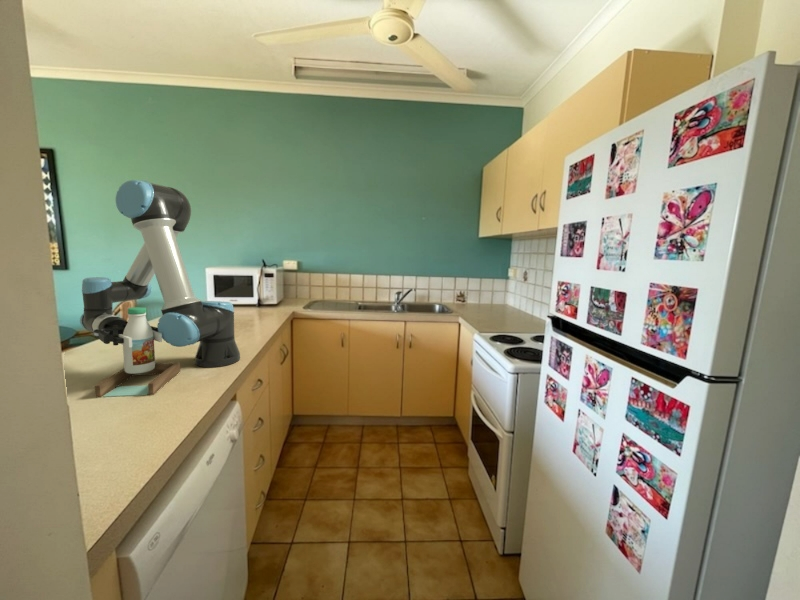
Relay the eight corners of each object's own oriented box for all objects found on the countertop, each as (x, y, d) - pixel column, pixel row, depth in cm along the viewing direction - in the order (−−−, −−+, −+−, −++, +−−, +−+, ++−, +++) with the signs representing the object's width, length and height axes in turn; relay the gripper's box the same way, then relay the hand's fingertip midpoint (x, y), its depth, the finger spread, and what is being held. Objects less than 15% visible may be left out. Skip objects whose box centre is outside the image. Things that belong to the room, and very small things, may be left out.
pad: (158, 385, 104) (158, 384, 104) (147, 395, 97) (147, 394, 97) (117, 387, 102) (117, 386, 102) (103, 397, 95) (103, 396, 95)
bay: (180, 372, 115) (179, 362, 115) (153, 394, 98) (152, 383, 97) (132, 373, 112) (131, 363, 112) (95, 397, 95) (94, 385, 94)
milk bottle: (121, 375, 101) (117, 310, 98) (128, 367, 108) (124, 305, 105) (152, 372, 104) (149, 309, 101) (157, 364, 111) (154, 305, 108)
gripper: (146, 332, 122) (181, 345, 112) (72, 343, 105) (105, 360, 94) (145, 312, 121) (180, 323, 110) (71, 320, 104) (103, 334, 93)
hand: (146, 340), depth 102 cm, fingers closed on milk bottle, 7 cm apart
